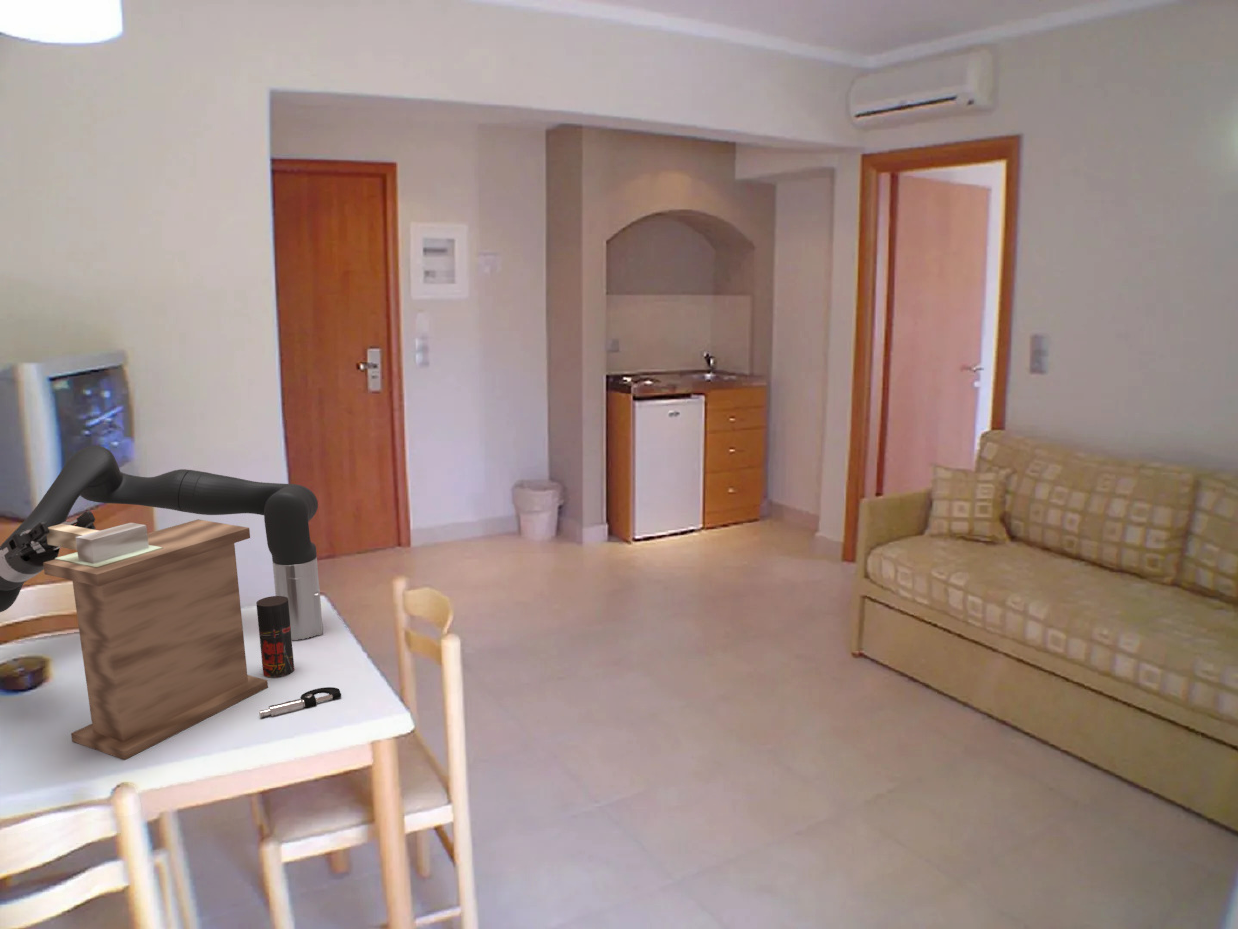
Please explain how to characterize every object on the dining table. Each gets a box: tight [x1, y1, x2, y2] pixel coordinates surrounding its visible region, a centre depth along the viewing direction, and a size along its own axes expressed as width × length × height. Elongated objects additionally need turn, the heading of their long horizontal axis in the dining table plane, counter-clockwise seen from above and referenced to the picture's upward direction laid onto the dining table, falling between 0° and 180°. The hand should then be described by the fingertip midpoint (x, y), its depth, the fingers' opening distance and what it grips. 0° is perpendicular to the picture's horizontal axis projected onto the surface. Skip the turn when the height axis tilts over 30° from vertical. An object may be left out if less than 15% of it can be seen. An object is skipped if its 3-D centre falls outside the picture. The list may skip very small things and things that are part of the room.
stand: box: [43, 519, 269, 761], centre depth 164 cm, size 15×30×32 cm, turn 153°
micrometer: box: [259, 686, 342, 719], centre depth 171 cm, size 15×7×2 cm, turn 123°
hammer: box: [46, 522, 149, 564], centre depth 157 cm, size 18×10×4 cm, turn 63°
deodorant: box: [256, 595, 295, 679], centre depth 183 cm, size 6×6×15 cm
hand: (68, 521), depth 159 cm, fingers open, 7 cm apart
